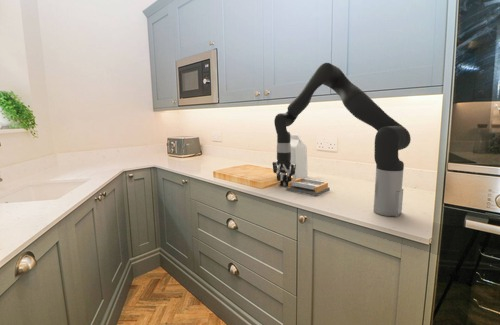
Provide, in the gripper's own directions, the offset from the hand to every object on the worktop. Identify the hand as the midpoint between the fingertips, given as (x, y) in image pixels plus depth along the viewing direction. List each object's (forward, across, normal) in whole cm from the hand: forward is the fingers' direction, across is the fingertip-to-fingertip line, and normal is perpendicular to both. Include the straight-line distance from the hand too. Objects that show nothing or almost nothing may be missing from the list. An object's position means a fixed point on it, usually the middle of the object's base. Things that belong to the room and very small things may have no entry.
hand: (283, 181), depth 149 cm
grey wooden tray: (0, -15, 0) cm, 15 cm away
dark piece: (+2, 0, 0) cm, 2 cm away
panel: (+2, -15, 0) cm, 15 cm away
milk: (+2, +7, -21) cm, 22 cm away
